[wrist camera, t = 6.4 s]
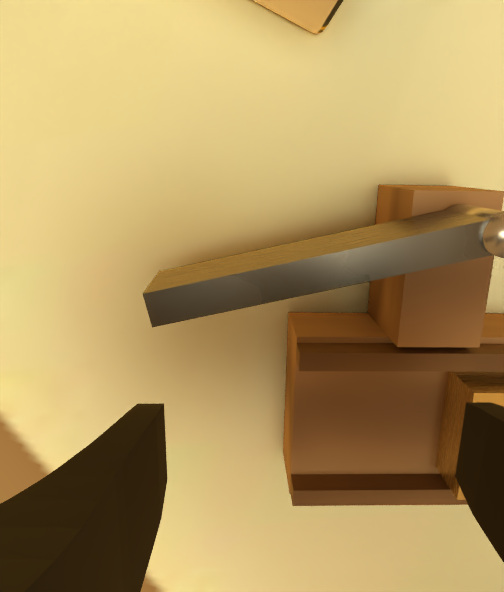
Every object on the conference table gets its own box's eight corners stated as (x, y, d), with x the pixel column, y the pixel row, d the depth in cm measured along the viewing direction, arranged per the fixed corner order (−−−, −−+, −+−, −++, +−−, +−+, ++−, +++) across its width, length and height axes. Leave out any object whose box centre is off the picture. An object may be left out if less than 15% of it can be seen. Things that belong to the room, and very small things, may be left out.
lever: (167, 302, 16) (152, 332, 13) (158, 268, 16) (139, 292, 13) (477, 236, 16) (532, 252, 13) (474, 200, 15) (529, 208, 12)
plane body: (608, 450, 23) (683, 507, 19) (283, 451, 22) (292, 510, 19) (675, 189, 20) (782, 195, 16) (293, 183, 19) (307, 188, 15)
